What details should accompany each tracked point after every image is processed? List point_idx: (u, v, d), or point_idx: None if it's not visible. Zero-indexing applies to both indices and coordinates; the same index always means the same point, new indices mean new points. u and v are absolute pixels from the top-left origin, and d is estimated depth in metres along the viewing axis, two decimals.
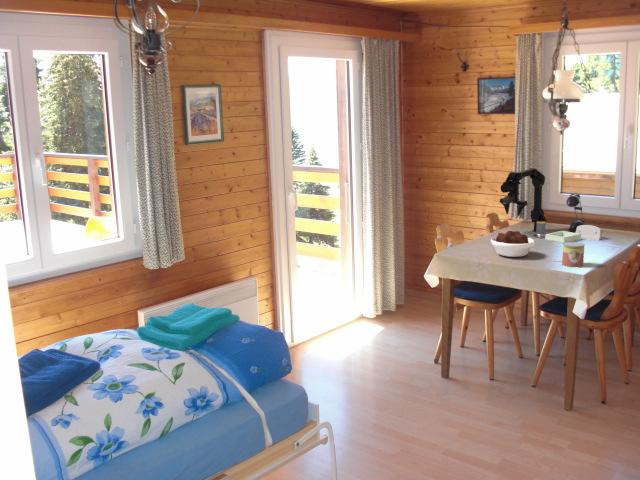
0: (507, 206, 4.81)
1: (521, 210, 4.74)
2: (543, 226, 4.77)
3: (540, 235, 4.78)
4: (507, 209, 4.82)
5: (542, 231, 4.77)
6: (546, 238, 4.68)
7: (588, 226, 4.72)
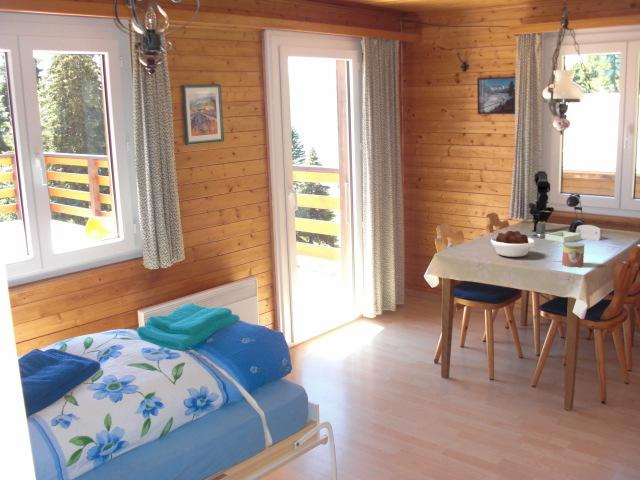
0: (546, 215, 4.80)
1: (537, 219, 4.74)
2: (543, 226, 4.77)
3: (540, 235, 4.78)
4: (545, 218, 4.81)
5: (542, 231, 4.77)
6: (546, 238, 4.68)
7: (588, 226, 4.72)
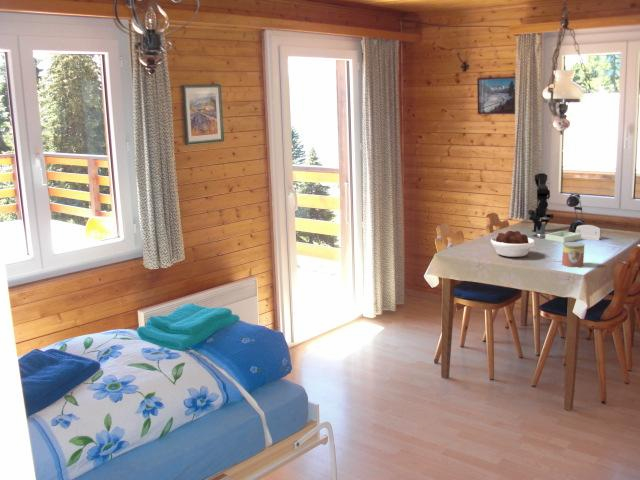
0: None
1: (539, 225, 4.76)
2: (543, 226, 4.77)
3: (540, 235, 4.78)
4: None
5: (542, 231, 4.77)
6: (546, 238, 4.68)
7: (588, 226, 4.72)
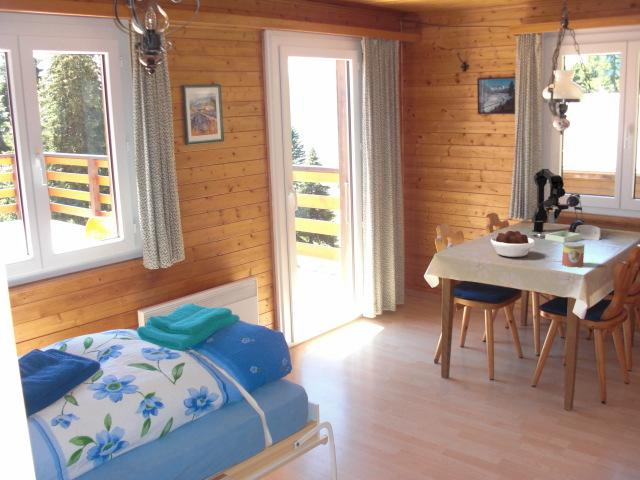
0: None
1: (559, 213, 4.69)
2: None
3: (540, 235, 4.78)
4: None
5: None
6: (546, 238, 4.68)
7: (587, 226, 4.73)
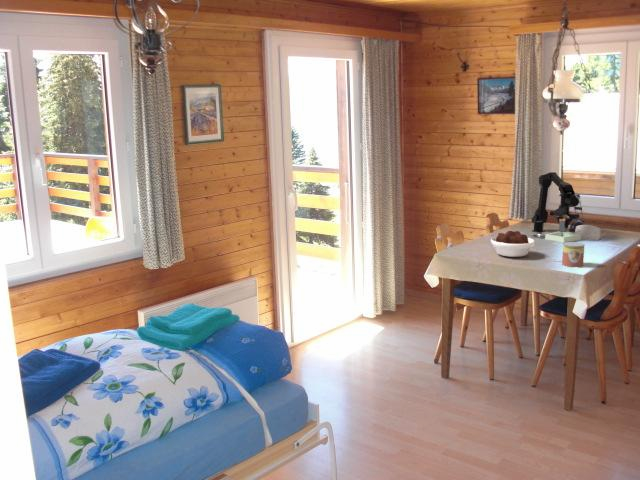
0: None
1: (569, 223, 4.65)
2: None
3: (540, 235, 4.78)
4: None
5: None
6: (546, 238, 4.68)
7: (587, 226, 4.73)
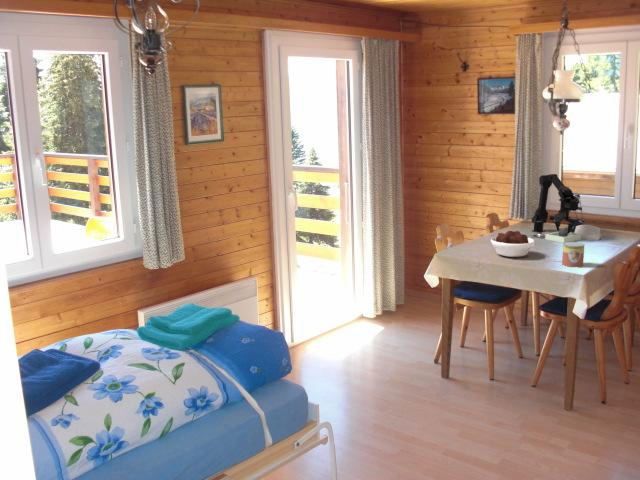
0: (558, 224, 4.70)
1: (571, 228, 4.64)
2: None
3: (540, 235, 4.78)
4: (558, 227, 4.70)
5: None
6: (546, 238, 4.68)
7: (587, 226, 4.73)
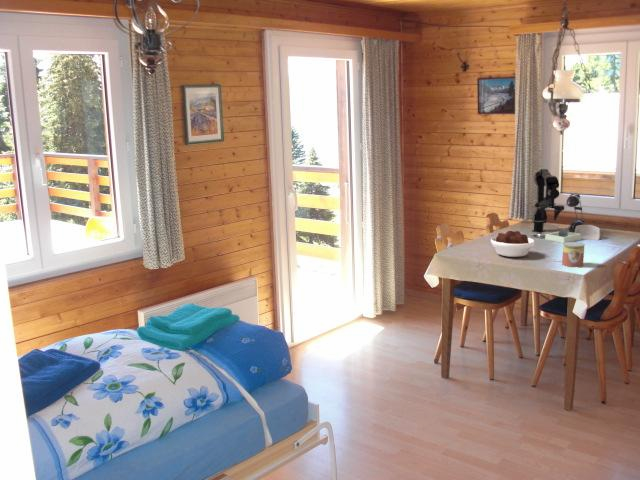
0: (542, 210, 4.76)
1: (557, 215, 4.68)
2: None
3: (540, 235, 4.78)
4: (542, 213, 4.76)
5: None
6: (546, 238, 4.68)
7: (587, 226, 4.73)
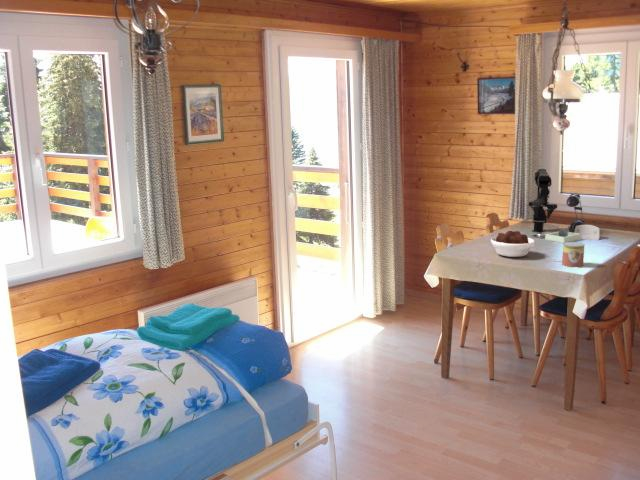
0: (536, 209, 4.78)
1: (551, 213, 4.70)
2: None
3: (540, 235, 4.78)
4: (536, 212, 4.78)
5: None
6: (546, 238, 4.68)
7: (587, 226, 4.73)
